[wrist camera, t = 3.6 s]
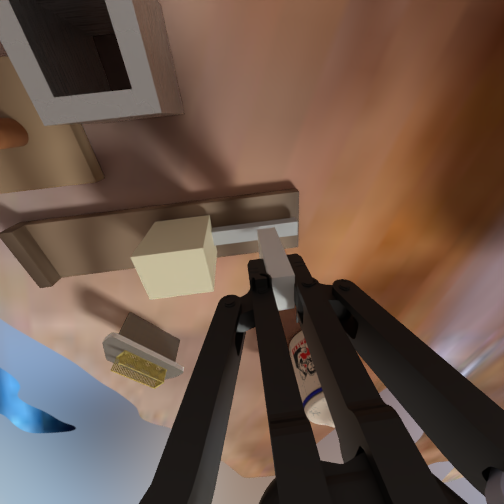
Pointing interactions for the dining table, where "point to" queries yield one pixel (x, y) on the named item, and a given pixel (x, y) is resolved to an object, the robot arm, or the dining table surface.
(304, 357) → the teacup with lid
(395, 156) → the dining table surface
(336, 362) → the robot arm
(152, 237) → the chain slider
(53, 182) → the square plate with peg
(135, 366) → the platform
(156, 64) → the grey hollow square block
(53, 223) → the rail
